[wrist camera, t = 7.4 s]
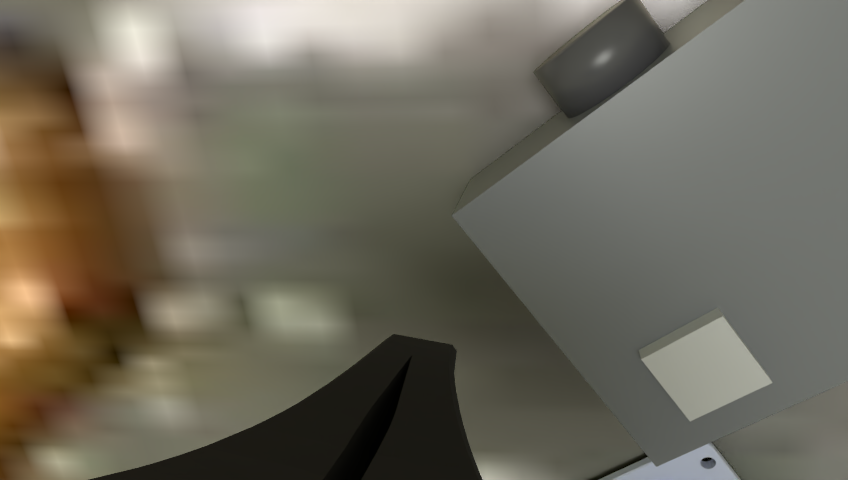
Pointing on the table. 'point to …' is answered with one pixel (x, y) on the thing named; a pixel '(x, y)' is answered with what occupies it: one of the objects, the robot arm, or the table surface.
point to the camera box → (685, 214)
